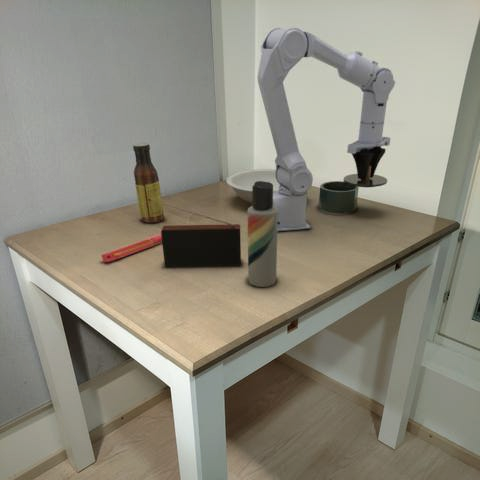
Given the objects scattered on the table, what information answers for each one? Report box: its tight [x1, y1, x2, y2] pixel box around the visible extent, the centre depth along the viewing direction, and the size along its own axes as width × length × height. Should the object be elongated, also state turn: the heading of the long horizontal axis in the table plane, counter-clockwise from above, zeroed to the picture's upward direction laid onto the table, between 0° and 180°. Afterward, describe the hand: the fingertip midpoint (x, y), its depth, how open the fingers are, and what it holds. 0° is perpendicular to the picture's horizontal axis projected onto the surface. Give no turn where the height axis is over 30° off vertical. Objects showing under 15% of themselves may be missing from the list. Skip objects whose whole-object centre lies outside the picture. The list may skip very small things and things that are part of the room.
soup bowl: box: [225, 168, 279, 204], centre depth 139 cm, size 24×24×7 cm
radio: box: [148, 199, 242, 268], centre depth 100 cm, size 19×3×15 cm, turn 90°
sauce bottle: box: [132, 142, 165, 224], centre depth 123 cm, size 7×6×20 cm
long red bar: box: [100, 233, 162, 263], centre depth 112 cm, size 24×2×5 cm
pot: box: [318, 180, 360, 214], centre depth 132 cm, size 10×10×6 cm
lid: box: [342, 164, 388, 188], centre depth 123 cm, size 11×11×5 cm
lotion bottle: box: [247, 181, 278, 288], centre depth 91 cm, size 6×6×20 cm
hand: (365, 177), depth 123 cm, fingers closed on lid, 2 cm apart
